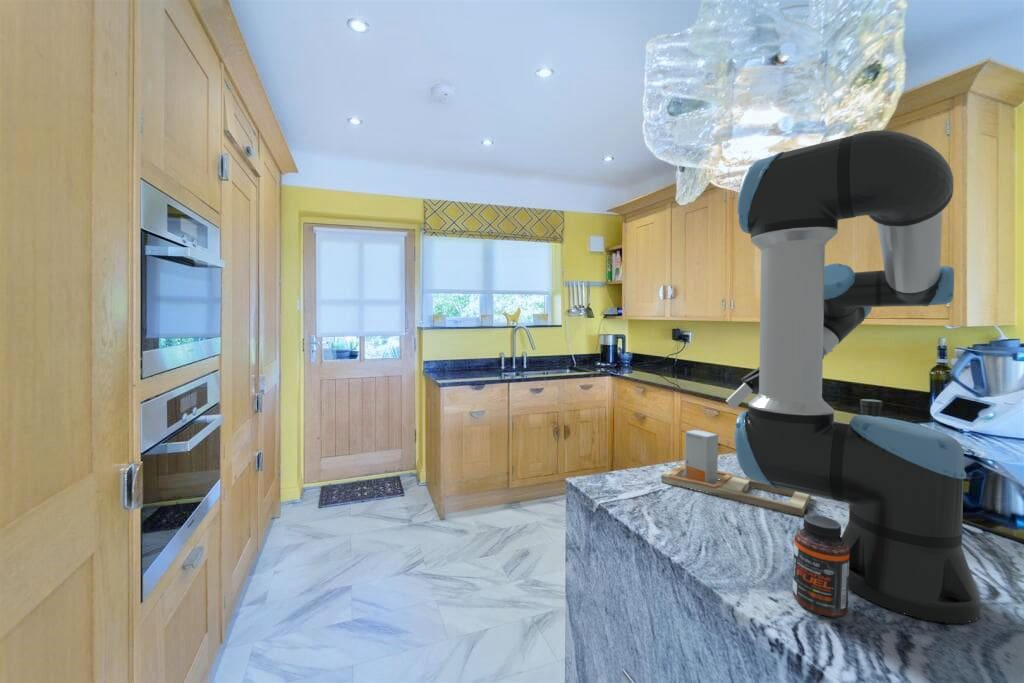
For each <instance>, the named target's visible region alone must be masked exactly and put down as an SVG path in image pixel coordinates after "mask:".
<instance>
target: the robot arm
mask: <svg viewBox="0 0 1024 683" xmlns="http://www.w3.org/2000/svg"><path fill="white" fill-rule="evenodd" d="M739 186H740V187H739V190H738V196H737V207H736V208H737V215H738V225H739V227H740V229H741V231H742V232H743V233H745V234H748V235H749V234H750V242H751V243H752V244H753V245H754V246H755V247H756V248H757V249H759V251H760V291H759V292H760V299H759V300H760V302H759V303H760V304H759V308H760V309H759V310H760V311H759V363H758V364H759V366H758V367H757V368H755V369H754V370H752V371H751V372H749V373H748V374H746V375H745V376H743V377H742V378H741V379H740V380H741V381H742V384H741V385H740V386H739V387H738V388H737V389H736V390H735V391H734V392H733V393H732V394H731V395H729V397H728V398H727V399H726V400H725V403H727V404H728V405H729V406H730V407H731V408H732V409H734V410H736V408H738V406H739V405H740V404H742V403H743V401H744V400H745V399H746V398H747V397H749V395H750V394H752V393H753V392H754V390H755V388H758V387H759V388H758V393H757V395H756V396H755V397H754V398H753V399H751V400H750V401H748V408H747V409H748V410H744V411H741V412H740V413H739V414H738V416H736V417H737V418H736V421H735V429H734V448H735V454H736V458H737V462H738V465H739V467H740V470H742V472H743V474H744V475H745V476H746V478H749V479H751V480H753V481H756V482H760V483H763V484H767V485H770V486H772V487H774V488H778V489H779V488H782V489H787V490H791V491H796V492H800V493H804V494H809V495H811V496H814V497H818V498H823V499H827V500H831V501H836V502H841V503H845V504H848V509H849V510H848V522H847V525H846V527H845V529H844V531H843V533H842V534H841V536H840V537H841V538H842V539H843V540H844V541H845V542H846V543H847V544H848V546H849V551H850V554H849V581H848V590H851V591H853V592H854V593H855V594H857V595H859V596H861V597H862V598H864V599H866V600H868V601H870V602H872V603H875V604H877V605H879V606H881V607H883V608H886V609H888V610H891V611H893V610H894V612H896V611H898V612H897V613H899V612H901V613H900V614H902V613H905V614H907V615H906V616H908V615H911V616H910V617H912V616H914V617H913V618H915V617H917V618H916V619H919V618H922V619H921V620H924V619H926V620H925V621H928V620H932V621H931V622H934V621H939V622H938V623H940V622H945V623H944V624H949V623H950V625H951V623H955V624H954V625H956V624H957V623H963V624H966V623H965V622H969V621H973V620H975V619H976V618H978V617H980V616H979V615H981V595H980V592H979V589H978V586H977V585H976V581H975V579H974V576H973V574H972V571H971V568H970V566H969V564H968V561H967V559H966V557H965V553H964V550H963V513H964V512H963V507H964V506H963V505H964V503H963V501H964V480H965V479H967V472H966V471H965V459H964V456H965V455H964V448H963V446H962V445H961V443H960V442H959V441H958V440H957V439H956V438H954V437H953V436H951V435H949V434H947V433H945V432H943V431H941V430H937V429H934V428H931V427H928V426H925V425H922V424H917V423H912V422H908V421H905V420H900V419H894V418H889V417H884V416H881V417H873V416H868V415H861V414H859V415H854V416H853V417H852V418H851V419H850V420H849V423H841V422H837V421H836V422H835V419H834V417H835V415H834V414H835V413H834V412H835V410H834V408H833V407H832V406H831V405H829V403H828V402H826V401H825V400H824V398H823V361H824V357H825V356H827V355H828V354H829V353H831V352H833V350H834V349H835V348H836V347H837V346H838V345H839V344H840V343H841V342H842V341H843V340H844V339H845V338H846V337H847V336H848V335H849V334H851V333H852V332H853V331H854V329H856V328H857V327H858V326H859V325H861V324H862V323H863V322H864V321H865V320H866V318H867V317H868V316H869V314H870V313H871V311H872V308H878V307H881V308H882V307H884V308H885V307H930V306H938V305H942V306H943V305H948V304H950V303H951V302H952V301H953V300H954V290H955V287H954V286H955V269H954V268H953V267H952V266H948V265H941V262H942V261H941V260H942V259H941V258H942V229H943V228H942V225H943V211H944V210H945V209H946V208H947V207H948V205H949V204H950V203H951V201H952V198H953V194H954V176H953V173H952V169H951V167H950V165H949V163H948V162H947V160H946V159H945V158H944V156H943V155H942V154H941V153H940V152H939V151H938V150H937V149H935V148H934V147H933V146H931V145H930V144H929V143H927V142H925V141H923V140H921V139H919V138H918V137H915V136H912V135H909V134H907V133H903V132H901V131H899V132H898V131H893V130H883V129H880V130H869V131H863V132H862V131H861V132H857V133H854V134H853V135H849V136H845V137H844V136H843V137H841V138H837V139H832V140H828V141H825V142H820V143H817V144H812V145H809V146H805V147H801V148H797V149H796V148H795V149H791V150H788V151H781V152H778V153H776V154H775V155H771V156H769V157H768V156H767V157H765V158H762V159H758V160H756V161H754V162H753V163H752V164H751V165H750V166H749V167H748V168H747V170H746V171H745V173H744V174H743V178H742V179H741V182H740V185H739ZM863 216H864V217H865V216H868V217H869V219H871V220H872V221H873V222H875V223H876V225H877V226H876V227H877V231H878V237H879V239H878V240H879V245H880V251H881V256H882V263H883V268H884V270H883V269H882V270H871V271H856V272H855V271H854V270H853V268H852V267H851V266H849V265H847V264H842V263H838V262H837V263H830V264H825V263H826V262H825V261H826V260H825V259H826V258H825V256H826V244H827V243H828V242H829V241H831V239H833V238H834V237H835V236H836V235H837V234H838V230H839V226H838V224H839V221H841V220H845V219H851V218H856V217H863ZM905 614H904V615H905ZM978 619H979V618H978ZM976 620H977V619H976ZM976 620H975V621H976ZM973 622H974V621H973ZM969 623H970V622H969ZM957 625H958V624H957Z"/></svg>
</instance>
